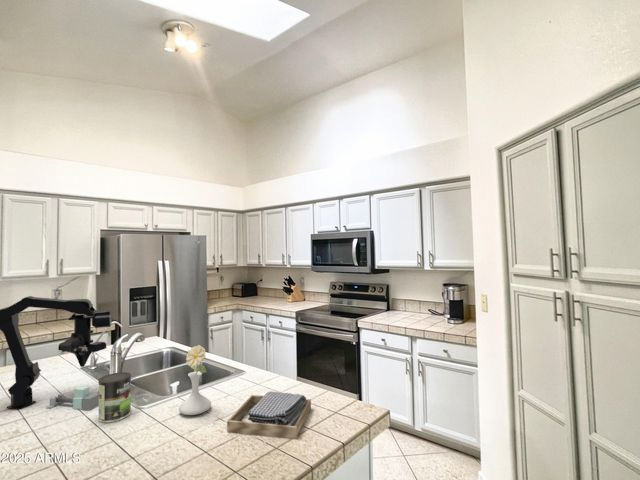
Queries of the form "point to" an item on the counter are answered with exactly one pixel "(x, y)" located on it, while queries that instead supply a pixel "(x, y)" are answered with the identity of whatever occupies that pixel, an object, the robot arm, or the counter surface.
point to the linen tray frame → (262, 428)
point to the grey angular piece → (88, 401)
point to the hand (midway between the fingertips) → (82, 366)
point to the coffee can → (114, 397)
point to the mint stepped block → (80, 396)
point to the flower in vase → (195, 384)
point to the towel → (278, 409)
